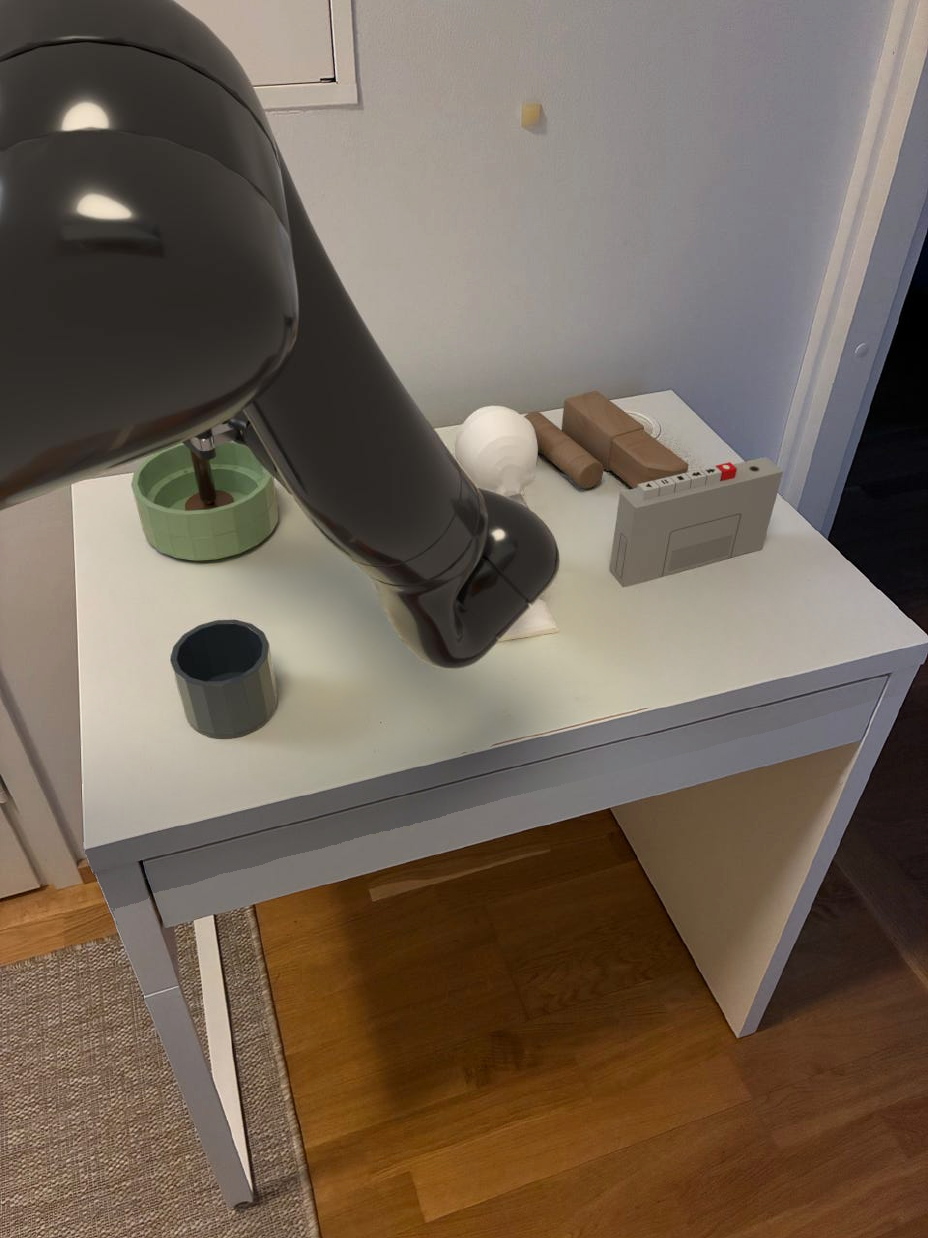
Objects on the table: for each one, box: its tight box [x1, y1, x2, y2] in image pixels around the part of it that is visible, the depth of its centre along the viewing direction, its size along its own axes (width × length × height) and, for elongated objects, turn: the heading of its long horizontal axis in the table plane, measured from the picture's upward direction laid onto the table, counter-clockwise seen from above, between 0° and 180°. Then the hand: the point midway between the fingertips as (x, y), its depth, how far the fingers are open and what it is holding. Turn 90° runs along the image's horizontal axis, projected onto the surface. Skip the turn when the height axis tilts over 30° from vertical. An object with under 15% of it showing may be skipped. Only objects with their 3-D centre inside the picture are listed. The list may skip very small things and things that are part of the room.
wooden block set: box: [523, 390, 690, 489], centre depth 101 cm, size 17×6×18 cm
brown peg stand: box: [185, 450, 234, 511], centre depth 91 cm, size 5×5×16 cm
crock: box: [169, 619, 279, 740], centre depth 76 cm, size 7×7×6 cm
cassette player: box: [608, 456, 784, 588], centre depth 90 cm, size 16×3×10 cm, turn 113°
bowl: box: [130, 441, 279, 562], centre depth 95 cm, size 13×13×6 cm
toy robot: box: [454, 405, 560, 642], centre depth 81 cm, size 14×9×20 cm, turn 16°
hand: (225, 362), depth 75 cm, fingers open, 8 cm apart
